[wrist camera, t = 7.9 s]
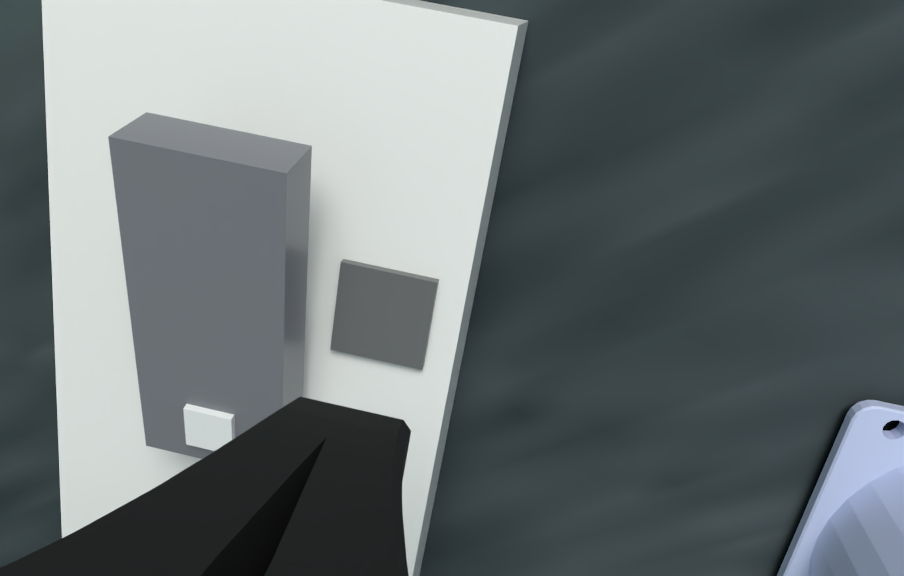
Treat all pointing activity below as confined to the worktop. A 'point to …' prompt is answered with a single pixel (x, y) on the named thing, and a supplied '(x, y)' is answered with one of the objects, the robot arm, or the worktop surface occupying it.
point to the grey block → (212, 275)
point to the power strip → (331, 204)
